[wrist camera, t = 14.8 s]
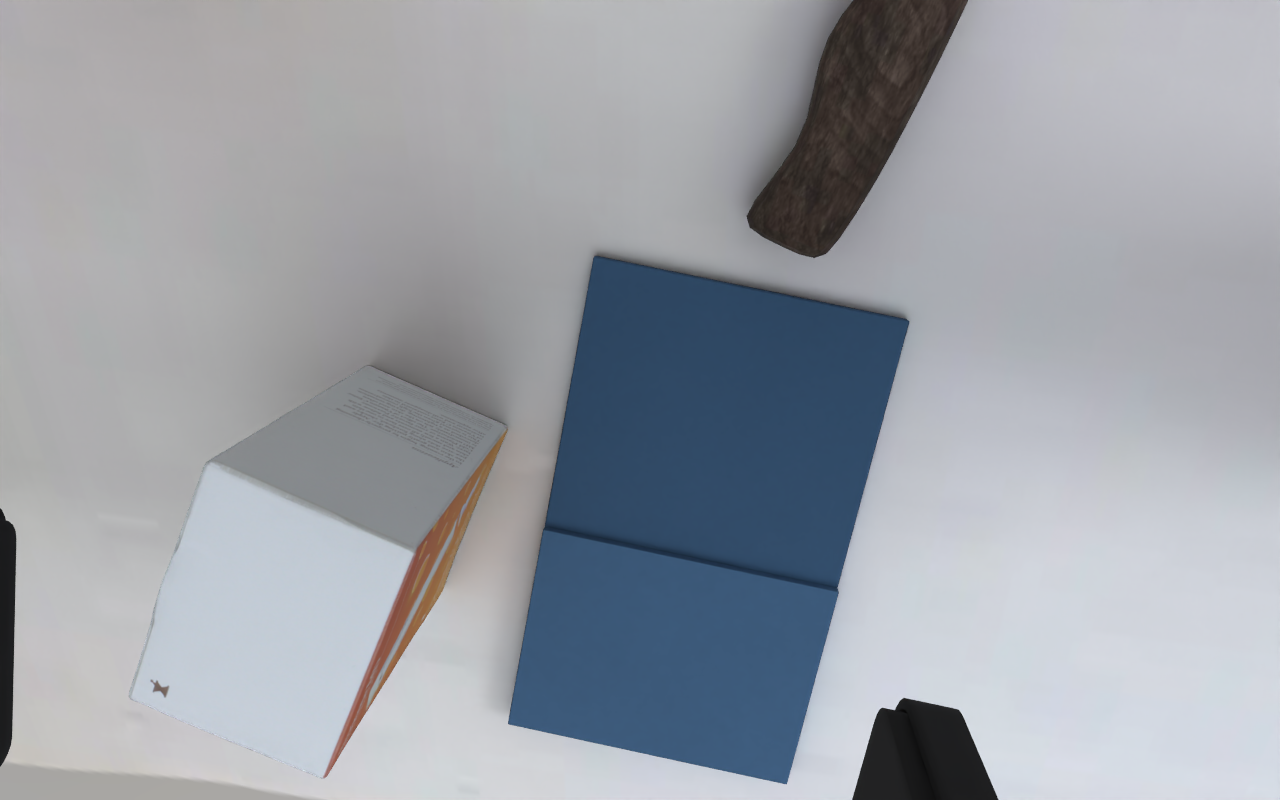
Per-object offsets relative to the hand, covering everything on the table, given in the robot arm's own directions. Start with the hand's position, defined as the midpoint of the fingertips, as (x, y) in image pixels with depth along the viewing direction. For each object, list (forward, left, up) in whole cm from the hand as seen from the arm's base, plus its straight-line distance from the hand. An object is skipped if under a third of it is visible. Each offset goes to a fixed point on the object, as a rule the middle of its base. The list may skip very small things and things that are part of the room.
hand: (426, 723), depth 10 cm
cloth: (-4, +8, -28) cm, 29 cm away
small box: (+8, +9, -28) cm, 30 cm away
